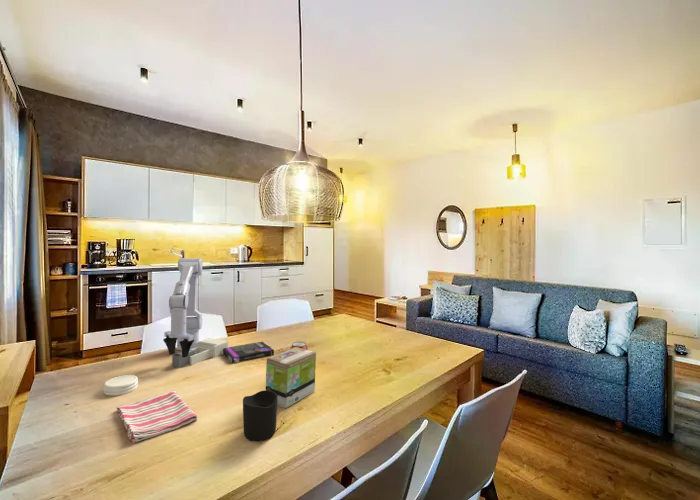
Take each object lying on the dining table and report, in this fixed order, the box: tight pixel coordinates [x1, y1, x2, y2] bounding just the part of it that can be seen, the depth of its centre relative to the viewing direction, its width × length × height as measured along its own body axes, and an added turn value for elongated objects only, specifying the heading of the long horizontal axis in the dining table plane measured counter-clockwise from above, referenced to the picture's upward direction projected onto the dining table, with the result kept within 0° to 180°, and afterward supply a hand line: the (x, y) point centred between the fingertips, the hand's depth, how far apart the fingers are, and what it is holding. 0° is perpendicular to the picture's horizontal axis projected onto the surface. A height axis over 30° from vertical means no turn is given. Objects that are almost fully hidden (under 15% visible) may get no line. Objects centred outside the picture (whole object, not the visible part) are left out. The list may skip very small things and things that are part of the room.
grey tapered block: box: [171, 350, 195, 369], centre depth 141 cm, size 4×8×6 cm, turn 158°
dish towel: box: [116, 390, 198, 444], centre depth 100 cm, size 17×23×4 cm
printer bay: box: [189, 337, 229, 366], centre depth 150 cm, size 12×19×5 cm, turn 157°
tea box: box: [265, 347, 317, 409], centre depth 114 cm, size 15×10×15 cm, turn 148°
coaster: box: [103, 374, 139, 397], centre depth 117 cm, size 10×10×4 cm
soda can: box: [289, 341, 309, 350], centre depth 134 cm, size 7×7×12 cm
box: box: [222, 341, 275, 364], centre depth 154 cm, size 14×4×20 cm
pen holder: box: [242, 389, 278, 443], centre depth 93 cm, size 9×9×10 cm
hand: (178, 355), depth 139 cm, fingers open, 7 cm apart
